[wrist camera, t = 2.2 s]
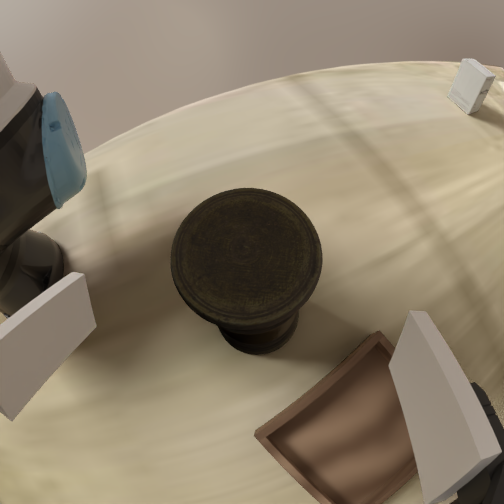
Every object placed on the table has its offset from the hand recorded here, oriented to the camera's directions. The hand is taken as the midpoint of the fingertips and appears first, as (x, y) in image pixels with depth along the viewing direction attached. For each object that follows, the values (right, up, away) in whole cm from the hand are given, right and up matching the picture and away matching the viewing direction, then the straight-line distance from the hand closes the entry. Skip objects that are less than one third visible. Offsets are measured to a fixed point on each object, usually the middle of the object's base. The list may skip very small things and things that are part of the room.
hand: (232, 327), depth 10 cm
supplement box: (+53, +39, +38) cm, 76 cm away
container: (+1, -4, +22) cm, 22 cm away
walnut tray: (+13, -17, +15) cm, 26 cm away
